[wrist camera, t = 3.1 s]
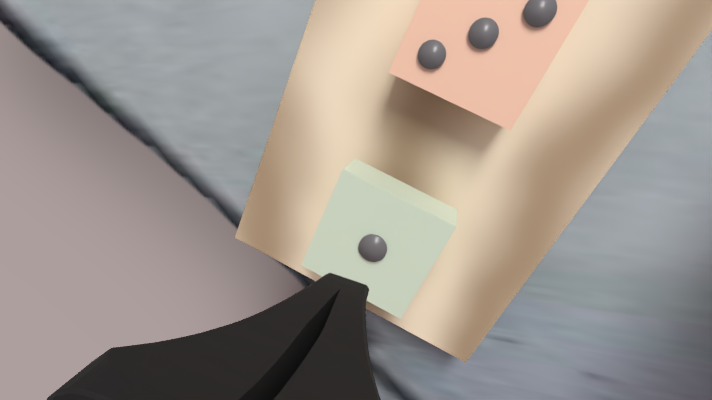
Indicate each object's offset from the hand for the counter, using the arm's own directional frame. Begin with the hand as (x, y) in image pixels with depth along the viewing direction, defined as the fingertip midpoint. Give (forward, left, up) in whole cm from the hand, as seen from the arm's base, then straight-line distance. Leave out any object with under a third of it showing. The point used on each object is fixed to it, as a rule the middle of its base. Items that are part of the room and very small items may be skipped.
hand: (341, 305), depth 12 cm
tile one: (0, 0, -7) cm, 7 cm away
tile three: (0, -9, -7) cm, 11 cm away
